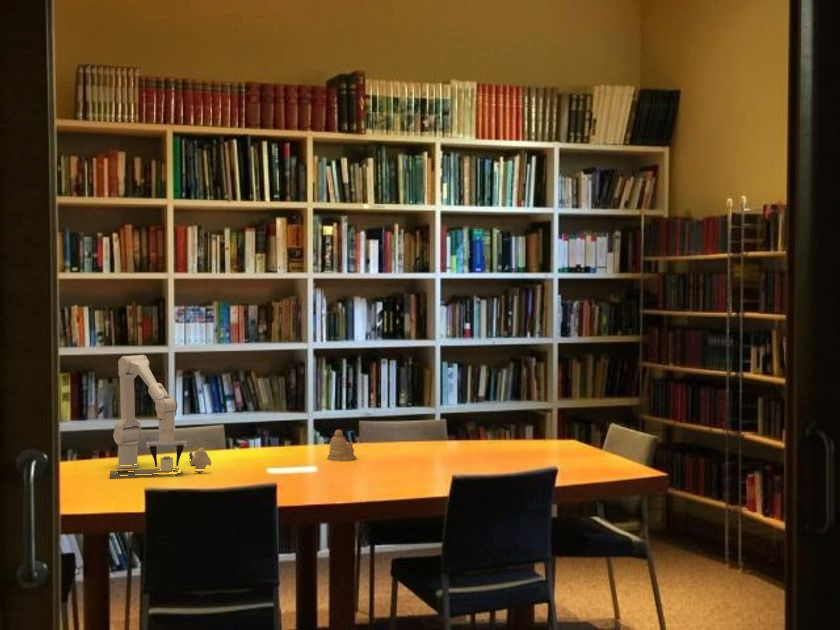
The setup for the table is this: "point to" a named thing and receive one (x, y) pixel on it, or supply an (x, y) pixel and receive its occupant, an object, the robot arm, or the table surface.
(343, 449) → the statue
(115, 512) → the table surface
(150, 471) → the grey slotted panel
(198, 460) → the arrowhead
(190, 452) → the dark labeled box
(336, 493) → the table surface
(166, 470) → the wood-topped square block
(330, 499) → the table surface
